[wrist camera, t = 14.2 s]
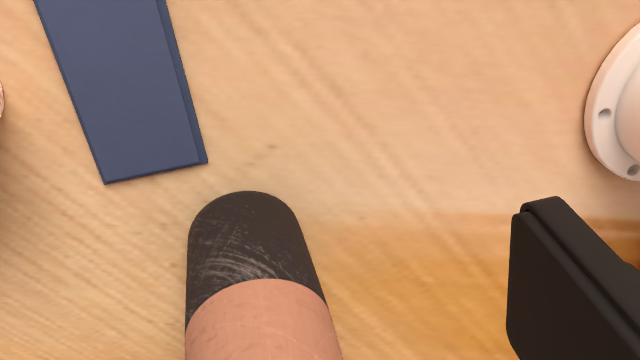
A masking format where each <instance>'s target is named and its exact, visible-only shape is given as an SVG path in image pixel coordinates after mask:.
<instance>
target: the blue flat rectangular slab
mask: <svg viewBox="0 0 640 360" xmlns="http://www.w3.org/2000/svg"><path fill="white" fill-rule="evenodd" d="M33 1H34V3H35V6H36V9H37V11H38V14H39V16H40V19H41V22H42V24H43V27H44V30H45V32H46V35H47V37H48V40H49V43H50V45H51V48H52V50H53V53H54V56H55V58H56V61H57V63H58V66H59V69H60V71H61V74H62V76H63V79H64V82H65V84H66V87H67V89H68V92H69V95H70V97H71V100H72V102H73V105H74V108H75V110H76V113H77V116H78V118H79V121H80V123H81V126H82V129H83V131H84V134H85V136H86V139H87V142H88V144H89V147H90V149H91V152H92V155H93V157H94V160H95V162H96V165H97V168H98V170H99V173H100V175H101V178H102V181H103V183H104V185H105V184H110V183H115V182H119V181H124V180H129V179H133V178H138V177H143V176H148V175H152V174H157V173H162V172H167V171H171V170H176V169H181V168H186V167H190V166H195V165H200V164H204V163H208V159H207V155H206V152H205V148H204V144H203V140H202V137H201V133H200V129H199V125H198V122H197V118H196V114H195V110H194V106H193V103H192V99H191V95H190V91H189V88H188V84H187V80H186V76H185V73H184V69H183V65H182V61H181V58H180V54H179V50H178V46H177V43H176V39H175V35H174V31H173V28H172V24H171V20H170V16H169V13H168V9H167V5H166V1H165V0H33Z"/></svg>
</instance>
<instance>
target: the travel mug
mask: <svg viewBox="0 0 640 360" xmlns="http://www.w3.org/2000/svg"><path fill="white" fill-rule="evenodd" d="M185 360H343V357H342V353H341V350H340V346H339V343H338V339H337V336H336V332H335V329H334V325H333V322H332V318H331V315H330V312H329V309H328V306H327V303H326V300H325V297H324V294H323V291H322V288H321V286H320V283H319V280H318V277H317V274H316V271H315V268H314V265H313V263H312V260H311V257H310V254H309V251H308V248H307V245H306V242H305V239H304V237H303V234H302V231H301V228H300V226H299V223H298V221H297V219H296V217H295V215H294V213H293V212H292V210H291V209H290V208H289V207H288V206H287V205H286V204H285V203H284V202H282V201H281V200H279V199H278V198H276V197H274V196H271V195H269V194H266V193H262V192H256V191H240V192H234V193H230V194H227V195H224V196H221V197H219V198H217V199H215V200H214V201H212V202H210V203H209V204H208V205H206V206H205V207H204V208H203V209H202V210H201V211H200V212H199V213H198V215H197V216H196V218H195V219H194V221H193V223H192V225H191V228H190V231H189V236H188V251H187V279H186V312H185Z"/></svg>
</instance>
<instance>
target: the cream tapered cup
mask: <svg viewBox="0 0 640 360" xmlns="http://www.w3.org/2000/svg"><path fill="white" fill-rule="evenodd" d="M3 108H4V99H3V89H2V85H1V83H0V118H1V115H2V111H3Z"/></svg>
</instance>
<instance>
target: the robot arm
mask: <svg viewBox="0 0 640 360" xmlns="http://www.w3.org/2000/svg"><path fill="white" fill-rule="evenodd" d="M584 131H585V135H586V139H587V143H588V146H589V148H590V149H591V151H592V153H593V155H594V156H595V157H596V158H597V159H598V160H599V161H600V162H601V163H602V164H603V165H604V166H605V167H606V168H607V169H609V170H610V171H612V172H613V173H614V174H616V175H617V176H620V177H622V178H624V179H627V180H632V181H640V22H639V23H638V24H637V25H636V26H634V27H633V28H632V29H631V30H630V31H629V32H628V33H627V34H626V35H625V36H624V37H623V38H622V39H621V40H620V41H619V42H618V43H617V44H616V45H615V47H614V48H613V49H612V51H611V52H610V53H609V55H608V56H607V58H606V59H605V60H604V62H603V63H602V65H601V67H600V69H599V71H598V73H597V74H596V76H595V78H594V80H593V83H592V85H591V88H590V91H589V94H588V97H587V101H586V107H585V113H584ZM506 331H507V335H508V339H509V341H510V344H511V346H512V348H513V349H514V351H515V352H516V354H517V356H518V357H519V359H520V360H640V271H639V270H637V269H636V268H635V267H634V266H632V265H631V264H630V263H627V262H624V261H623V260H622V259H621V258H620V257H619V256H618V255H617V254H616V253H615V252H614V251H613V250H612V249H611V248H610V247H609V246H608V245H607V244H606V243H605V242H604V241H603V240H602V239H601V238H600V237H599V236H598V235H597V234H596V233H595V232H594V231H593V230H592V229H591V228H590V227H589V226H588V225H587V224H586V223H585V222H584V221H583V220H582V219H581V218H580V217H579V216H578V215H577V214H576V213H575V212H574V210H573V209H572V208H571V207H570V206H569V205H568V204H567V203H566V202H565V201H564V200H562V199H561V198H560V197H557V196H553V197H549V198H544V199H540V200H536V201H531V202H527V203H524V204H522V206H521V208H520V213H518V214H515V215H513V217H512V221H511V239H510V258H509V277H508V296H507V315H506Z"/></svg>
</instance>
